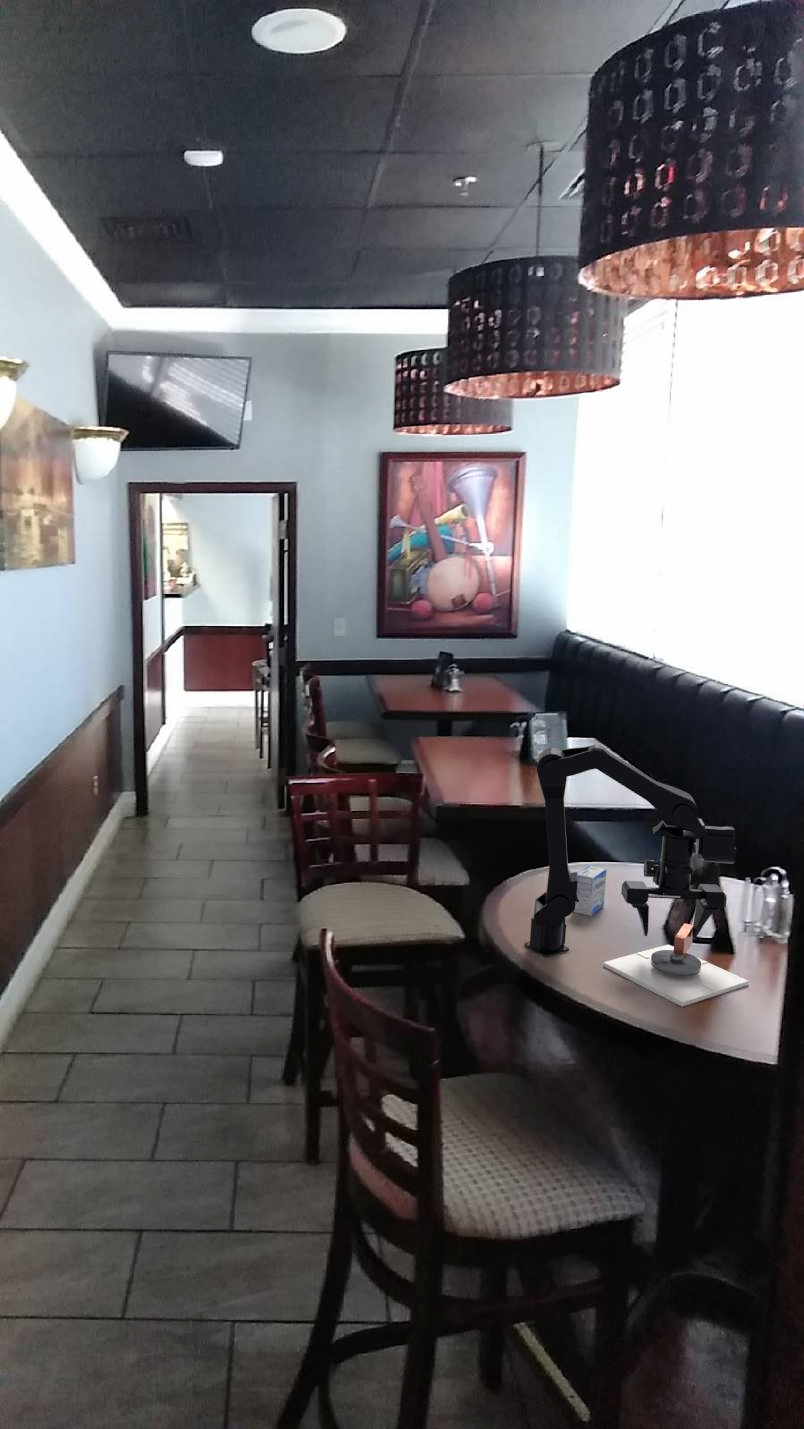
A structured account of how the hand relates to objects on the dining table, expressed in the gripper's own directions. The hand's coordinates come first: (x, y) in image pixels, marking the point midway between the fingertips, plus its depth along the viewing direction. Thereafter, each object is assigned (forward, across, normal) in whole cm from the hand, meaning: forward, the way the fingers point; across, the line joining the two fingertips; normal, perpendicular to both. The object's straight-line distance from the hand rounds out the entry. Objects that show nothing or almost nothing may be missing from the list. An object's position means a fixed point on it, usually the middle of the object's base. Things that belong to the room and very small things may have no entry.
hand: (669, 936), depth 192 cm
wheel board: (+5, 0, +6) cm, 8 cm away
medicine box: (+5, +11, -26) cm, 29 cm away
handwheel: (+3, -1, +4) cm, 5 cm away
